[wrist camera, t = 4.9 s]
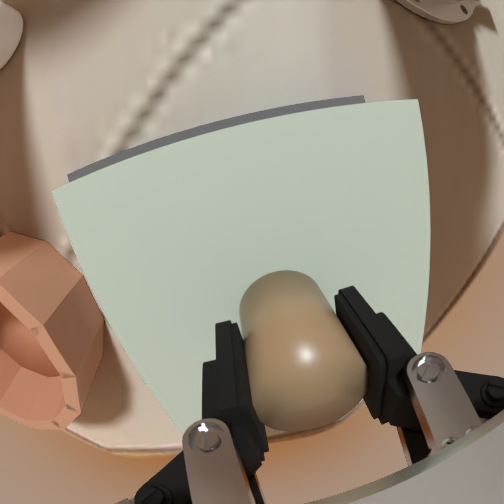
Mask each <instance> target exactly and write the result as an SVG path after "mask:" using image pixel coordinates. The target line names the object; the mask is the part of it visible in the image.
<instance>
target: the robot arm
mask: <svg viewBox="0 0 504 504" xmlns="http://www.w3.org/2000/svg"><path fill="white" fill-rule="evenodd" d="M396 1H397V2H399V3H400V4H402V5H403V6H404V7H406V8H408V9H409V10H411V11H413V12H414V13H416V14H418V15H420V16H422V17H424V18H427V19H429V20H432V21H435V22H438V23H443V24H454V23H458V22H461V21H464V20H467V19H468V18H469V17H470V16H471V15H472V14H473V12H474V9H475V2H476V0H396ZM334 300H335V309H336V315H337V317H338V319H339V320H340V322H341V324H342V325H343V327H344V328H345V330H346V332H347V333H348V335H349V337H350V339H351V340H352V342H353V344H354V345H355V347H356V349H357V350H358V352H359V354H360V355H361V357H362V359H363V361H364V362H365V364H366V366H367V368H368V389H367V391H366V393H365V395H364V397H363V399H364V401H365V403H366V405H367V407H368V409H369V411H370V413H371V415H372V417H373V418H374V419H376V418H378V419H379V420H380V422H381V424H385V423H387V422H389V423H390V425H393V426H397V431H398V434H399V437H400V441H401V444H402V447H403V451H404V454H405V458H406V461H407V464H408V467H406V468H404V469H402V470H400V471H398V472H395V473H393V474H391V475H389V476H386V477H384V478H381V479H379V480H376V481H374V482H371V483H369V484H366V485H363V486H361V487H358V488H355V489H352V490H349V491H346V492H343V493H340V494H337V495H334V496H330V497H327V498H324V499H320V500H316V501H312V502H309V503H304V504H504V378H501V377H498V376H490V375H482V374H476V373H469V372H462V371H456V370H453V368H452V367H451V365H450V363H449V362H448V361H447V359H446V358H445V357H444V356H442V355H440V354H437V353H434V352H425V353H421V354H418V355H417V353H416V352H415V351H414V350H413V348H412V347H411V346H410V344H409V343H408V342H407V341H406V339H405V338H404V337H403V336H402V334H401V333H400V332H399V331H398V329H397V328H396V327H395V326H394V324H393V323H392V322H391V321H390V320H389V318H388V317H387V316H386V315H385V314H384V313H383V312H379V313H375V312H374V310H373V309H372V308H371V307H370V305H369V304H368V303H367V302H366V300H365V299H364V298H363V297H362V295H361V294H360V293H359V292H358V290H357V289H356V288H355V287H354V286H349V287H346V288H343V289H339V290H338V294H336V295H334ZM215 345H216V360H212V361H207V362H204V363H203V366H202V419H201V420H199V421H196V422H194V423H193V424H192V425H190V426H189V427H188V428H187V430H186V431H185V433H184V435H183V439H182V445H183V451H182V452H181V453H179V454H178V455H177V456H176V457H175V458H174V459H173V460H172V461H171V462H169V463H168V464H167V465H166V466H165V467H164V468H163V469H162V470H160V472H158V473H157V474H156V475H155V476H153V477H152V478H151V479H150V480H149V481H148V482H146V483H145V484H144V485H143V486H142V487H141V488H140V489H139V490H138V491H137V493H136V495H135V498H133V499H131V500H129V499H128V498H126V499H124V500H122V501H120V502H118V503H116V504H267V503H266V500H265V498H264V495H263V492H262V489H261V487H260V484H259V481H258V478H257V475H256V471H257V469H258V468H259V467H260V466H261V465H262V463H261V461H264V460H265V458H264V452H268V451H269V448H268V442H267V437H266V431H265V426H264V424H263V423H262V422H260V420H259V418H258V416H257V413H256V411H255V408H254V406H253V403H252V397H251V390H250V383H249V377H248V370H247V363H246V356H245V349H244V342H243V338H242V335H241V332H240V329H239V327H238V324H237V322H236V323H231V320H228V321H224V322H219V323H216V324H215Z"/></svg>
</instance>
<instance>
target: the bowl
mask: <svg viewBox="0 0 504 504" xmlns="http://www.w3.org/2000/svg"><path fill="white" fill-rule="evenodd" d="M103 333H104V318H103V316H102V314H101V312H100V310H99V308H98V306H97V304H96V302H95V300H94V298H93V296H92V294H91V292H90V289H89V287H88V285H87V283H86V281H85V279H84V276H83V275H82V274H81V273H80V272H79V271H78V270H77V269H75V268H74V267H73V266H72V265H71V264H70V263H69V262H68V261H67V260H66V259H65V258H64V257H62V256H61V255H60V254H59V253H58V252H57V251H56V250H55V249H54V248H53V247H52V246H51V245H50V244H49V243H48V242H47V241H43V240H39V239H36V238H32V237H29V236H25V235H22V234H18V233H15V232H11V231H10V232H8V233H6V234H4V235H2V236H0V414H2V415H4V416H6V417H8V418H10V419H12V420H15V421H17V422H19V423H21V424H23V425H26V426H28V427H30V428H32V429H47V430H64V429H65V428H66V427H67V426H68V425H69V424H70V423H71V422H72V421H73V420H74V419H75V418H76V417H77V416H78V415H80V414H81V412H82V409H83V406H84V403H85V401H86V398H87V395H88V392H89V390H90V387H91V384H92V382H93V379H94V377H95V374H96V372H97V369H98V367H99V364H100V362H101V359H102V357H103Z"/></svg>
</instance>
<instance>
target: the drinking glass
mask: <svg viewBox="0 0 504 504" xmlns="http://www.w3.org/2000/svg"><path fill="white" fill-rule="evenodd" d="M22 32H23V19H22V16H21V14H20V13H19V12H18V11H17V10H16V9H14V8H12V7H10V6H9V5H7V4H5V3H4V2H2V1H1V0H0V69H1V68H2V67H3V66H4V65H5V64H6V63H7V62H8V60H9V59H10V58H11V56H12V55H13V53H14V52H15V50H16V48H17V46H18V44H19V42H20V39H21V36H22Z"/></svg>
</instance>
